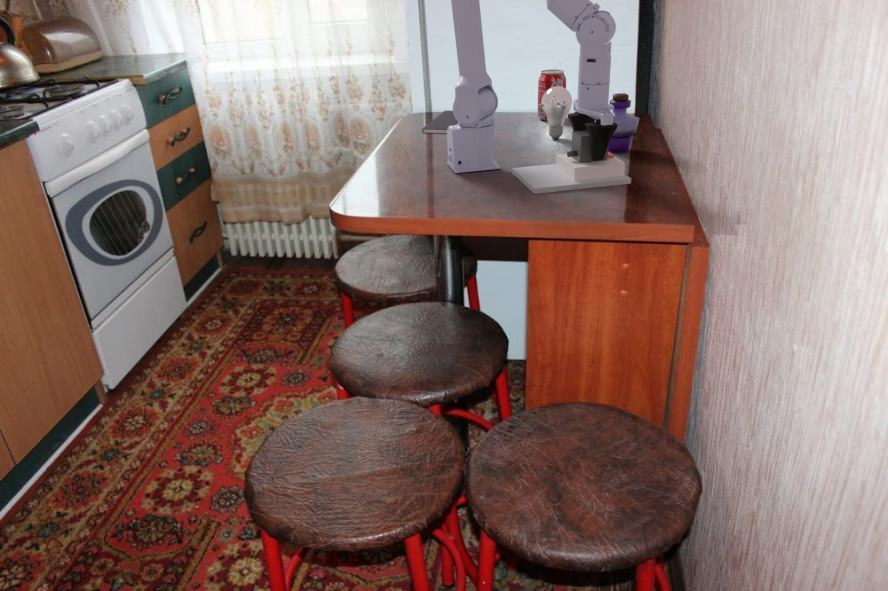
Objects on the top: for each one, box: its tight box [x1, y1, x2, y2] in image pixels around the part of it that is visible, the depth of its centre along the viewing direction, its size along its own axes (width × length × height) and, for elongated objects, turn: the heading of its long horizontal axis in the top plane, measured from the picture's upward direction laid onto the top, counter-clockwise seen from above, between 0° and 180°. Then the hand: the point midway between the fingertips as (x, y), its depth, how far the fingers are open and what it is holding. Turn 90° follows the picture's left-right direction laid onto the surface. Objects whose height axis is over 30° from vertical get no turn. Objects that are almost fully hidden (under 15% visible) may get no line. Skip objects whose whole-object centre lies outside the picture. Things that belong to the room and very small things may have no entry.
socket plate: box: [555, 152, 626, 181], centre depth 139 cm, size 10×10×3 cm
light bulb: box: [541, 86, 573, 140], centre depth 165 cm, size 7×7×12 cm
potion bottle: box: [608, 92, 641, 154], centre depth 154 cm, size 9×9×12 cm
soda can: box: [537, 69, 567, 122], centre depth 183 cm, size 7×7×12 cm
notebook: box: [421, 110, 458, 134], centre depth 186 cm, size 13×2×21 cm
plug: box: [566, 130, 608, 163], centre depth 138 cm, size 4×7×6 cm, turn 102°
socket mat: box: [511, 163, 632, 195], centre depth 139 cm, size 19×14×1 cm
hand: (590, 154), depth 138 cm, fingers open, 7 cm apart
